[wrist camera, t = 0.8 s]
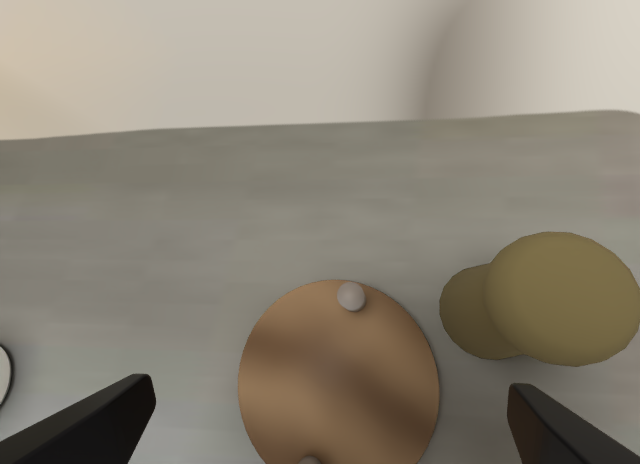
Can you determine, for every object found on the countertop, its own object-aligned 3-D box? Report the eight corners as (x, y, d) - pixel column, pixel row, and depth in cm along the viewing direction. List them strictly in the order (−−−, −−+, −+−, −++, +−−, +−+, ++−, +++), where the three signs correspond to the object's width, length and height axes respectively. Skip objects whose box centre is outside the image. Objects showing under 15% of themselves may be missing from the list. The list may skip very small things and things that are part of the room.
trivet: (412, 531, 20) (419, 578, 16) (217, 447, 23) (184, 469, 19) (454, 310, 23) (468, 305, 19) (276, 262, 26) (258, 250, 22)
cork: (419, 305, 23) (450, 282, 13) (485, 248, 23) (566, 179, 13) (489, 380, 21) (593, 426, 11) (559, 317, 21) (727, 302, 11)
